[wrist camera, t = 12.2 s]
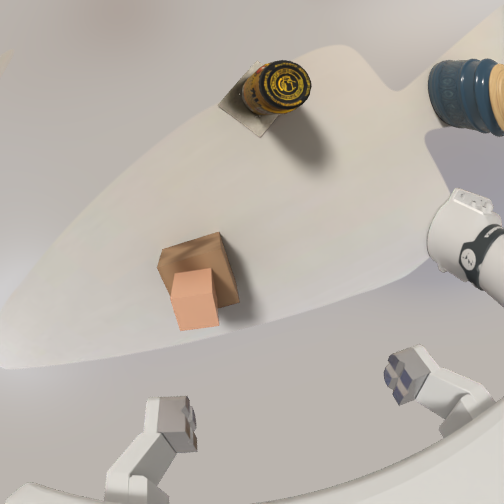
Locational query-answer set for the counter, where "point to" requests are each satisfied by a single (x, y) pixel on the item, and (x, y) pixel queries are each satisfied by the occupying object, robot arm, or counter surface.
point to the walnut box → (201, 265)
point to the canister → (469, 94)
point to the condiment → (267, 94)
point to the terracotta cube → (195, 299)
